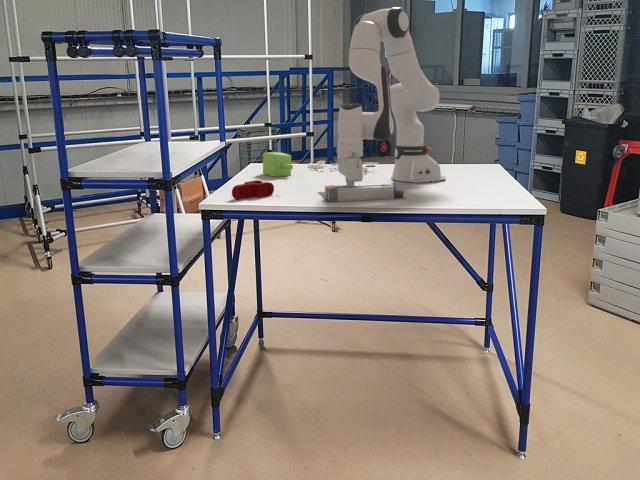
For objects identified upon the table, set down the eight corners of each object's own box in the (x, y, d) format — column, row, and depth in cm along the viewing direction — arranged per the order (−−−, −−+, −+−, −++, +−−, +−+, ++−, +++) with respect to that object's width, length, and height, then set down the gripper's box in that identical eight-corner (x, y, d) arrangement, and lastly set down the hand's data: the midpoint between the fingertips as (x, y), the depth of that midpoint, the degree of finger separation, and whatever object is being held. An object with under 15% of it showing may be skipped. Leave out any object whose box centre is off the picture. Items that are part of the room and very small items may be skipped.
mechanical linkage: (261, 192, 219) (260, 179, 217) (274, 195, 214) (273, 181, 213) (227, 199, 207) (227, 185, 206) (240, 202, 203) (240, 187, 201)
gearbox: (299, 177, 251) (300, 156, 249) (279, 179, 246) (280, 156, 243) (279, 171, 266) (279, 150, 263) (259, 172, 260) (260, 151, 258)
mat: (390, 191, 218) (390, 189, 218) (406, 201, 202) (407, 198, 201) (317, 194, 213) (317, 192, 213) (328, 205, 196) (328, 202, 196)
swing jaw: (388, 194, 207) (388, 183, 206) (390, 196, 205) (390, 184, 204) (324, 197, 203) (325, 185, 201) (326, 199, 200) (326, 187, 199)
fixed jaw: (401, 195, 207) (401, 181, 206) (406, 198, 202) (406, 184, 201) (325, 198, 202) (325, 184, 200) (329, 202, 197) (329, 187, 195)
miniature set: (381, 168, 268) (374, 176, 257) (310, 169, 280) (301, 177, 269) (380, 155, 265) (373, 162, 255) (308, 156, 277) (299, 164, 267)
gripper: (367, 154, 195) (367, 195, 199) (351, 147, 214) (351, 184, 218) (349, 155, 193) (349, 196, 197) (334, 147, 213) (334, 185, 216)
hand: (350, 189), depth 208 cm, fingers closed
